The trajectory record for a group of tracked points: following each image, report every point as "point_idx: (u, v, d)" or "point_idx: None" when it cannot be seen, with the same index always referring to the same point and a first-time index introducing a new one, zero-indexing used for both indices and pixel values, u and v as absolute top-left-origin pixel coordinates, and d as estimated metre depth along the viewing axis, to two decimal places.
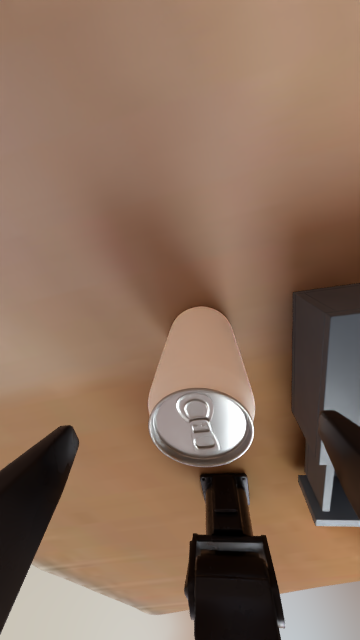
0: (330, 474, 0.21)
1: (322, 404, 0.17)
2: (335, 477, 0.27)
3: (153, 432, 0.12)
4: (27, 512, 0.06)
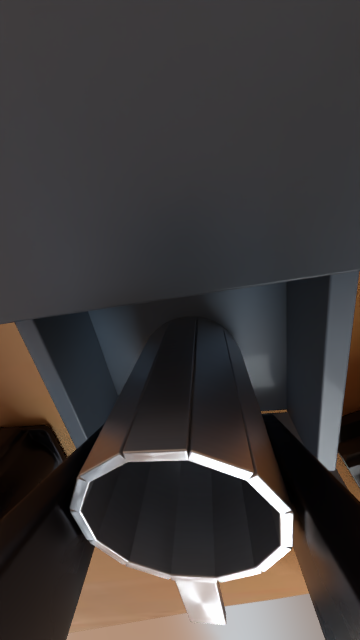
0: (52, 379, 0.09)
1: None
2: None
3: None
4: None
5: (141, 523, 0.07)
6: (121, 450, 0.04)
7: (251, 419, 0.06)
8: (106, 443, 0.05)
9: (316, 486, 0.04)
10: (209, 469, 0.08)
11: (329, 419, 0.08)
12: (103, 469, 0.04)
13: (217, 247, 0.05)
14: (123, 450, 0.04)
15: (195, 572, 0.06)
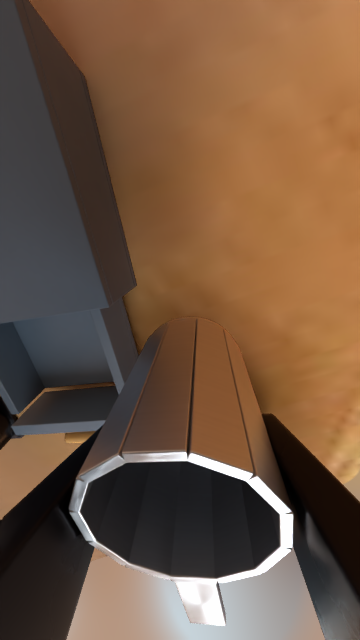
0: None
1: None
2: (76, 390, 0.23)
3: None
4: None
5: (140, 523, 0.07)
6: (120, 450, 0.04)
7: (251, 419, 0.06)
8: (104, 443, 0.05)
9: (316, 486, 0.04)
10: (209, 469, 0.08)
11: (116, 376, 0.17)
12: (102, 470, 0.04)
13: (29, 301, 0.14)
14: (122, 451, 0.04)
15: (195, 573, 0.06)
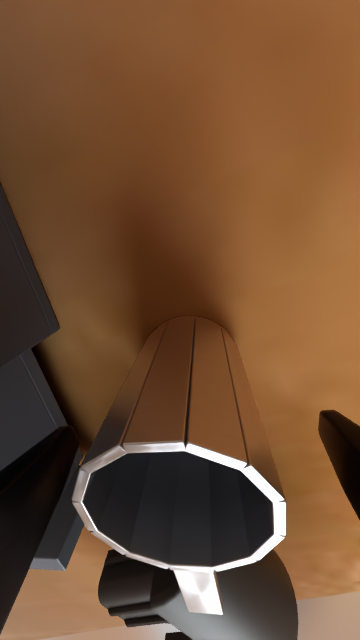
0: None
1: None
2: None
3: None
4: (27, 512, 0.06)
5: (140, 515, 0.07)
6: (121, 442, 0.05)
7: (246, 414, 0.06)
8: (106, 436, 0.05)
9: None
10: (207, 464, 0.09)
11: None
12: (104, 460, 0.05)
13: None
14: (123, 442, 0.05)
15: (193, 562, 0.06)
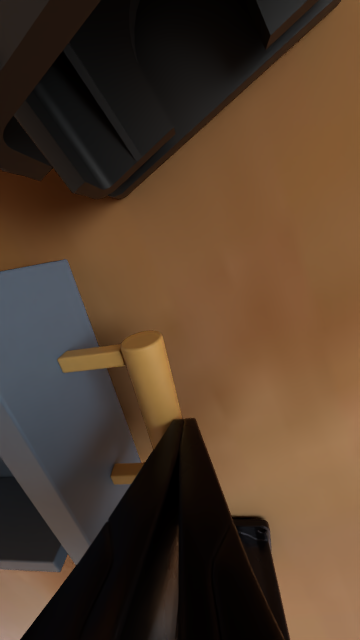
0: None
1: None
2: None
3: None
4: (177, 514, 0.05)
5: None
6: None
7: None
8: None
9: (196, 487, 0.05)
10: None
11: None
12: None
13: None
14: None
15: None
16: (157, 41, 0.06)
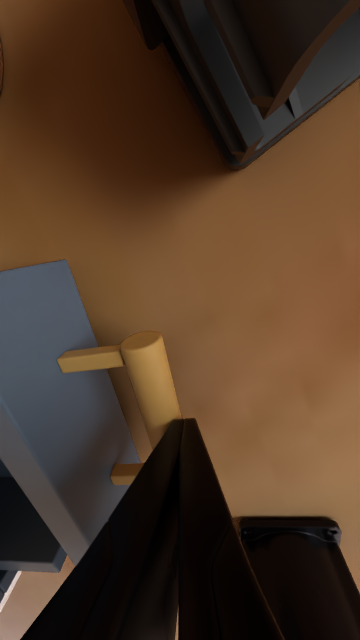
0: None
1: None
2: None
3: None
4: (177, 514, 0.05)
5: None
6: None
7: None
8: None
9: (196, 487, 0.05)
10: None
11: None
12: None
13: None
14: None
15: None
16: None
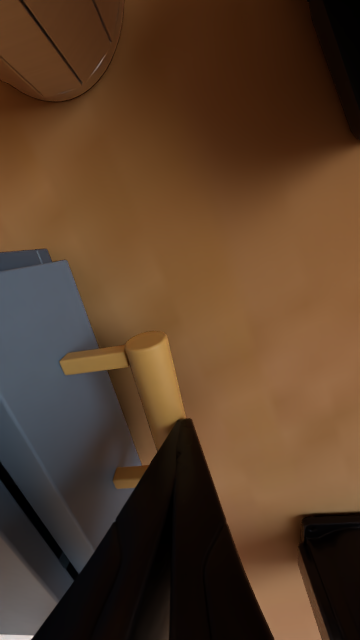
0: None
1: None
2: None
3: None
4: None
5: None
6: None
7: None
8: None
9: (190, 487, 0.05)
10: None
11: None
12: None
13: None
14: None
15: None
16: None
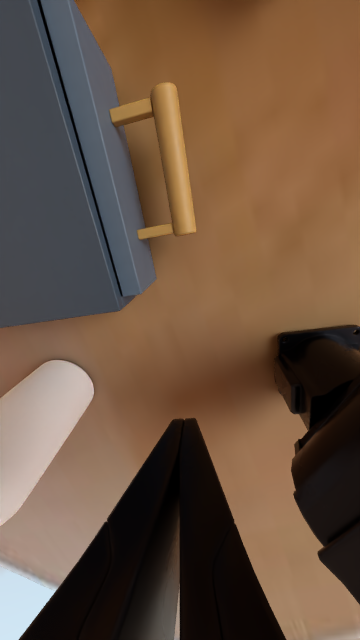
0: None
1: (21, 324, 0.14)
2: None
3: None
4: (176, 514, 0.05)
5: None
6: None
7: None
8: None
9: (196, 487, 0.05)
10: None
11: None
12: None
13: (42, 131, 0.09)
14: None
15: None
16: None
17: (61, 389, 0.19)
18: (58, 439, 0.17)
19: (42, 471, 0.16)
